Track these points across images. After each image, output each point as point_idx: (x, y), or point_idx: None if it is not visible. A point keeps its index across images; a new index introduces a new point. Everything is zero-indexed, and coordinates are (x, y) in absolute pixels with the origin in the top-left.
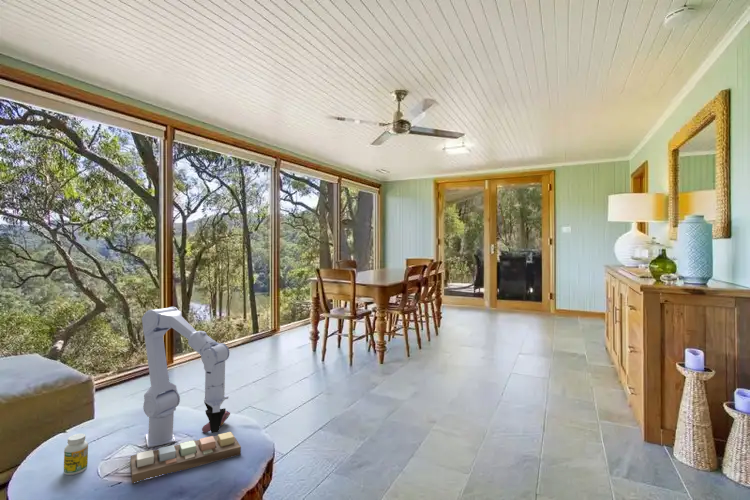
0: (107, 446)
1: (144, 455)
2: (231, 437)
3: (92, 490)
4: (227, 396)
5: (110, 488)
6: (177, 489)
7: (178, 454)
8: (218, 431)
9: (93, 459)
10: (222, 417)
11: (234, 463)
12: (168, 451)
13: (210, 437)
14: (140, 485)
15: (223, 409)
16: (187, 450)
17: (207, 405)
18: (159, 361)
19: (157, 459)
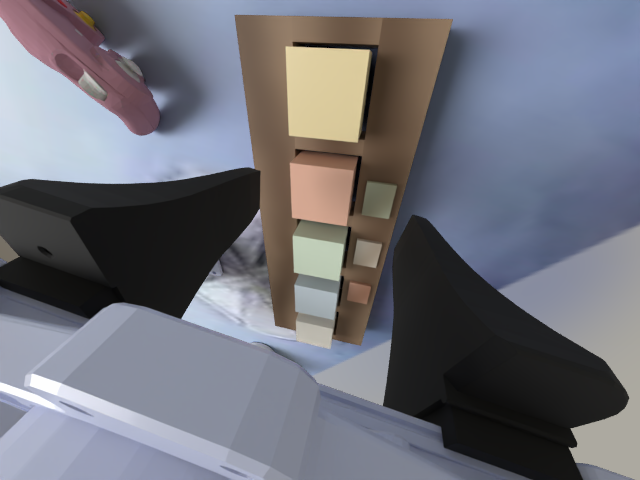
0: (193, 310)
1: (316, 337)
2: (367, 71)
3: (340, 356)
4: (230, 466)
5: (352, 345)
6: None
7: None
8: (427, 221)
9: (235, 331)
10: (507, 298)
11: (495, 95)
12: (329, 305)
13: (301, 177)
14: (379, 322)
15: (539, 381)
16: (342, 261)
17: (179, 306)
18: None
19: None
